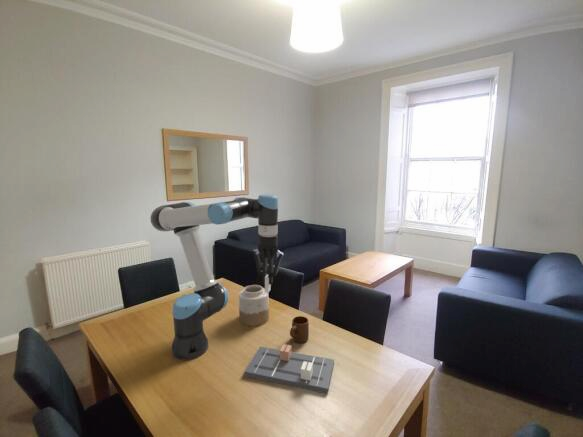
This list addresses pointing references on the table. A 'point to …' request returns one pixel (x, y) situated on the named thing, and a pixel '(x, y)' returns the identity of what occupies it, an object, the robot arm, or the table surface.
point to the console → (290, 369)
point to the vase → (253, 305)
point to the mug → (300, 329)
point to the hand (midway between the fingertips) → (267, 290)
